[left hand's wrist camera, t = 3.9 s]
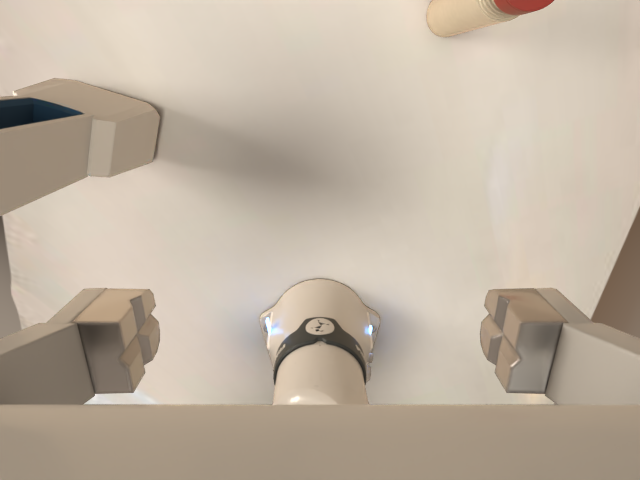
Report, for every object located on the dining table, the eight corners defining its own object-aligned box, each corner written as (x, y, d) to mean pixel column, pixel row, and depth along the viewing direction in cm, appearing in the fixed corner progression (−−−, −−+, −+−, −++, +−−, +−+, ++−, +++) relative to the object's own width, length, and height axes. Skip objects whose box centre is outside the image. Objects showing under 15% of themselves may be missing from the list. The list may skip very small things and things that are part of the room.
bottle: (453, -20, 49) (547, -84, 29) (475, 17, 51) (580, -19, 30) (418, 11, 50) (485, -30, 30) (441, 46, 52) (519, 29, 31)
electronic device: (62, 134, 55) (-198, 196, 28) (66, 75, 53) (-216, 80, 25) (156, 161, 57) (-2, 248, 29) (165, 106, 54) (1, 143, 26)
